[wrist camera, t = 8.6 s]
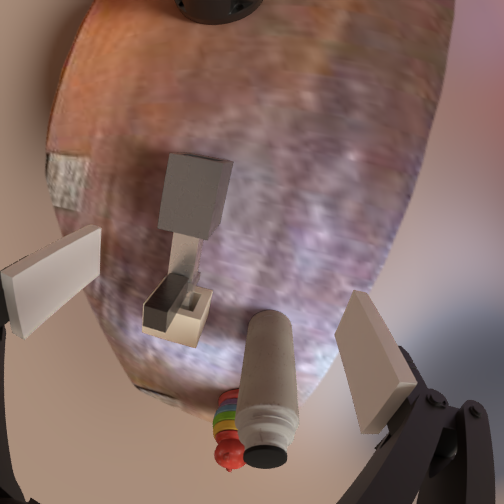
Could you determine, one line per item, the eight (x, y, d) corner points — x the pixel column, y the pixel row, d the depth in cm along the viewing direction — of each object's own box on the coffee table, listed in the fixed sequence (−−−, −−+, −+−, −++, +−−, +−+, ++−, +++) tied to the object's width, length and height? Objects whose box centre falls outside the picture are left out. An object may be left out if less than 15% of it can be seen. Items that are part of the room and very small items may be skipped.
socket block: (164, 277, 50) (143, 303, 41) (212, 290, 50) (200, 319, 41) (161, 303, 52) (142, 332, 43) (207, 316, 52) (195, 348, 43)
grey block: (190, 153, 43) (169, 153, 34) (233, 161, 43) (223, 163, 34) (178, 213, 46) (157, 228, 37) (220, 223, 47) (207, 240, 37)
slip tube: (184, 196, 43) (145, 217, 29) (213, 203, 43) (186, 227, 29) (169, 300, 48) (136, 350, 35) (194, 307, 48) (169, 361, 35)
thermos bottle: (291, 345, 53) (299, 474, 27) (249, 345, 54) (232, 474, 27) (292, 309, 51) (304, 442, 24) (246, 310, 51) (224, 442, 25)
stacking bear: (260, 418, 61) (255, 480, 44) (217, 414, 61) (205, 474, 45) (265, 389, 58) (261, 456, 41) (218, 384, 58) (202, 449, 41)
